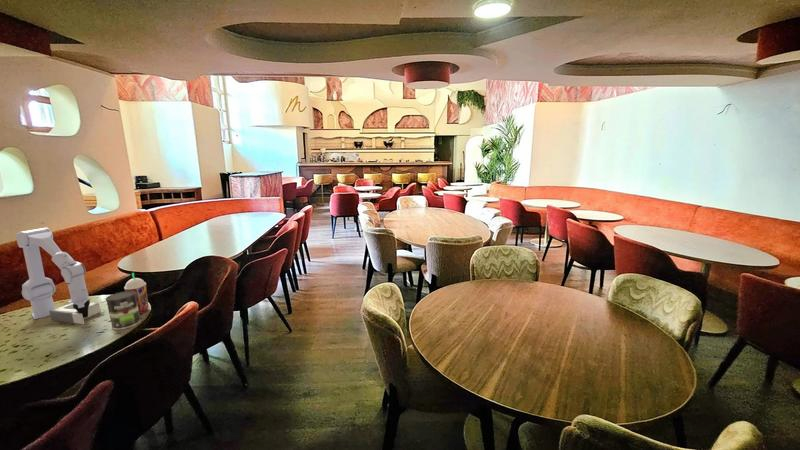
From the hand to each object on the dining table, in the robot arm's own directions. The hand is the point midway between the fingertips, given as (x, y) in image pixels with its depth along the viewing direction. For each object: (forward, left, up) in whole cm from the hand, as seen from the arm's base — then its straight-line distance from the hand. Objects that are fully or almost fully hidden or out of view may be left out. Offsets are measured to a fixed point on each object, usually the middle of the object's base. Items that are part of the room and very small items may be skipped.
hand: (84, 317), depth 153 cm
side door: (-5, -5, -2) cm, 8 cm away
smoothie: (+10, +18, -2) cm, 21 cm away
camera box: (-10, -1, -2) cm, 10 cm away
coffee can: (+20, +10, -2) cm, 22 cm away
